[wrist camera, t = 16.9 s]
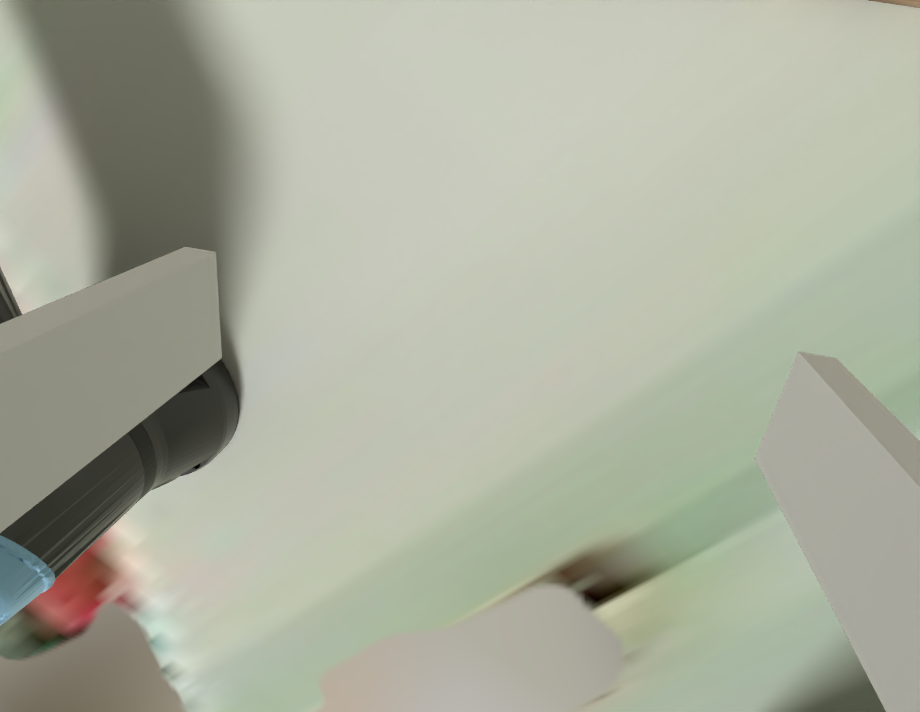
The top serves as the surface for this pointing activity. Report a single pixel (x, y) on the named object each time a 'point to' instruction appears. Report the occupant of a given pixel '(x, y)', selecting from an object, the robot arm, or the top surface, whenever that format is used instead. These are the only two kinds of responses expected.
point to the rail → (902, 2)
